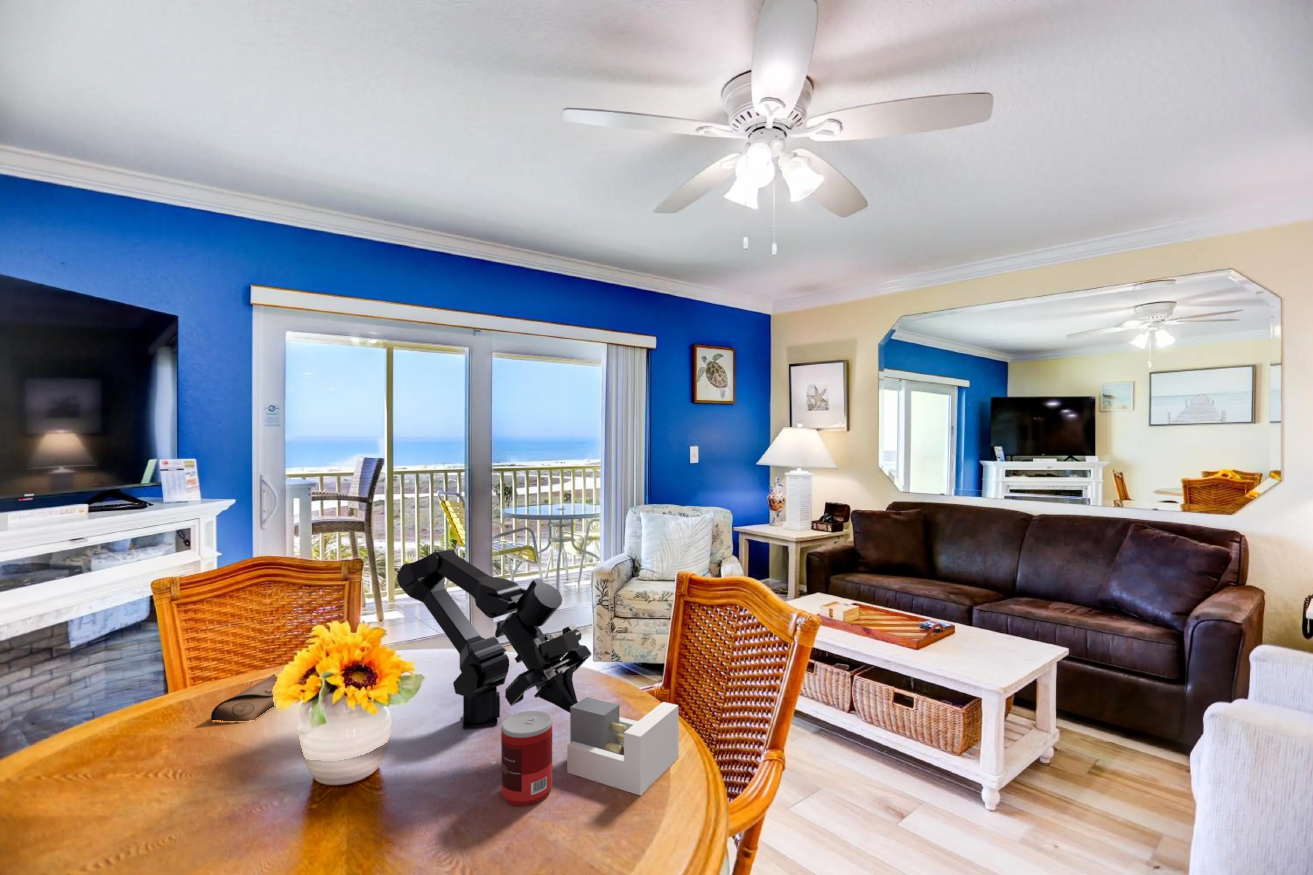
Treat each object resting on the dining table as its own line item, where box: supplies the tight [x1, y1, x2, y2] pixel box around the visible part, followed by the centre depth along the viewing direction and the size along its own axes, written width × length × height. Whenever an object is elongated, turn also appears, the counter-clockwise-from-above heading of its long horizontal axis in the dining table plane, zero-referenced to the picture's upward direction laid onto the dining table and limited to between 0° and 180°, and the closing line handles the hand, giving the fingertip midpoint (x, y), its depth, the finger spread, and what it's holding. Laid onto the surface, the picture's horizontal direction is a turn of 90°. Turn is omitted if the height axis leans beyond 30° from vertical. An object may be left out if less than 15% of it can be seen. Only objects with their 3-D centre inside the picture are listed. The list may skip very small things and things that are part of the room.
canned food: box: [500, 710, 553, 807], centre depth 95 cm, size 8×8×11 cm
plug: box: [569, 696, 626, 755], centre depth 105 cm, size 10×5×8 cm, turn 61°
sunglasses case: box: [210, 673, 279, 721], centre depth 128 cm, size 18×7×7 cm
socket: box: [566, 701, 680, 797], centre depth 103 cm, size 14×13×9 cm
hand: (577, 712), depth 107 cm, fingers closed, pressing on plug
